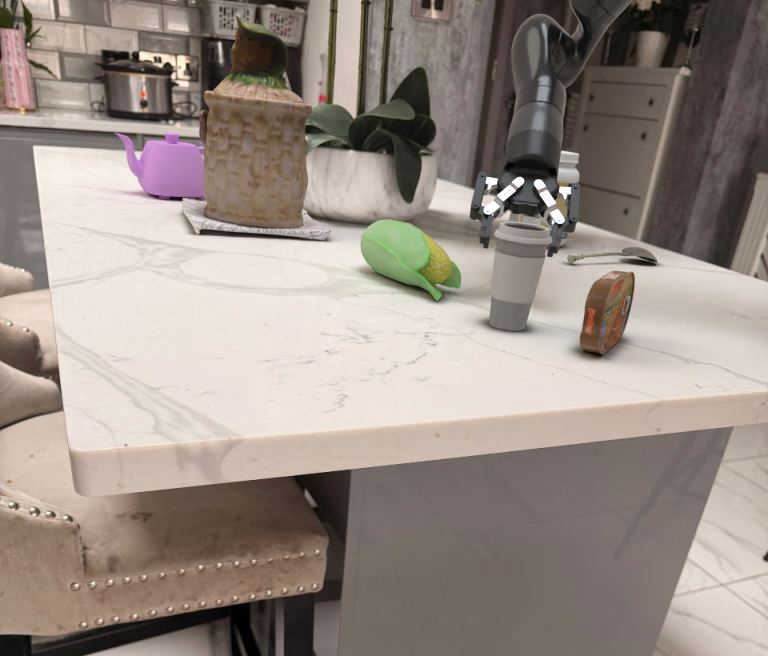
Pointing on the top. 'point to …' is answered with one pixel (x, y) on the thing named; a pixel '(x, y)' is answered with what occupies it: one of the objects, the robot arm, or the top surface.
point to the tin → (607, 311)
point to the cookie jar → (254, 146)
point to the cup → (516, 272)
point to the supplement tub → (564, 179)
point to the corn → (408, 256)
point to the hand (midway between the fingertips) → (518, 249)
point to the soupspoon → (618, 254)
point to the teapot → (168, 167)
